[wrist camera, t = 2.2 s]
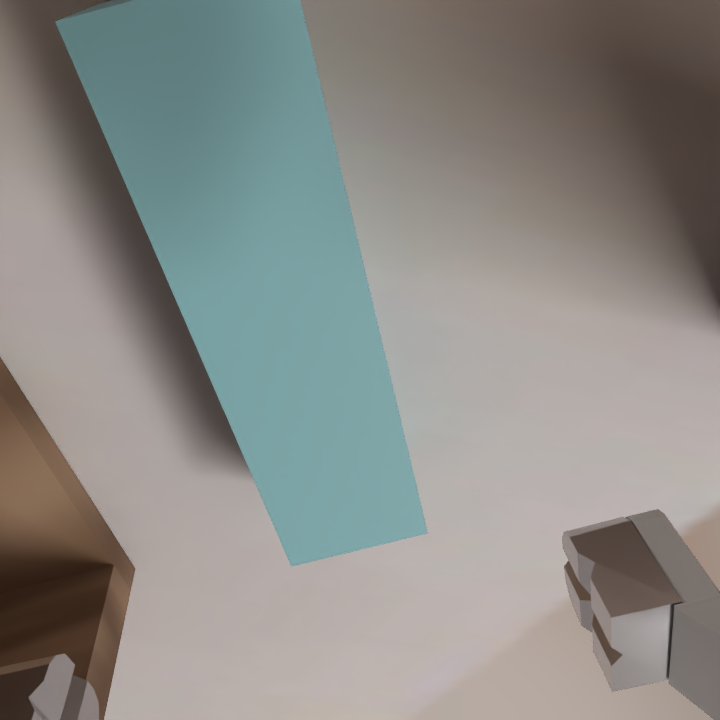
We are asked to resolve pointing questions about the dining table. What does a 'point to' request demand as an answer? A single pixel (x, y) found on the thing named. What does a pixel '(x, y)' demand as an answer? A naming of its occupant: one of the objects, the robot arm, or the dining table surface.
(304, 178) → the shelf board
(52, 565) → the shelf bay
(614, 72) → the dining table surface
